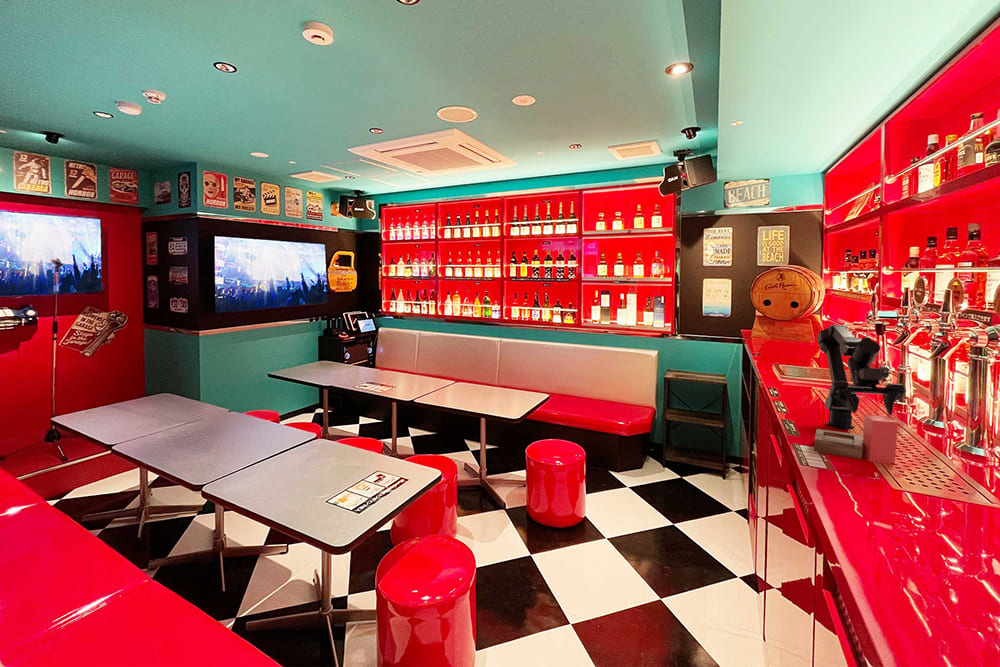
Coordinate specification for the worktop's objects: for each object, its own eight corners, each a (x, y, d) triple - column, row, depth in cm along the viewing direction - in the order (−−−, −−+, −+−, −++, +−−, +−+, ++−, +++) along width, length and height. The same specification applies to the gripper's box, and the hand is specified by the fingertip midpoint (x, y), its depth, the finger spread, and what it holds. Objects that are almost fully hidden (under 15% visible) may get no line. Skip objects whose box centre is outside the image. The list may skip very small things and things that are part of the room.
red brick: (861, 454, 144) (864, 414, 143) (885, 456, 142) (888, 416, 141) (869, 461, 139) (872, 420, 137) (894, 463, 137) (897, 422, 135)
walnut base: (816, 440, 157) (816, 428, 157) (861, 447, 150) (862, 435, 149) (813, 451, 147) (814, 438, 147) (861, 459, 140) (862, 446, 140)
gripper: (834, 356, 151) (844, 398, 142) (905, 358, 145) (920, 402, 136) (825, 375, 159) (833, 416, 150) (892, 378, 153) (905, 421, 144)
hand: (872, 413), depth 145 cm, fingers open, 9 cm apart
